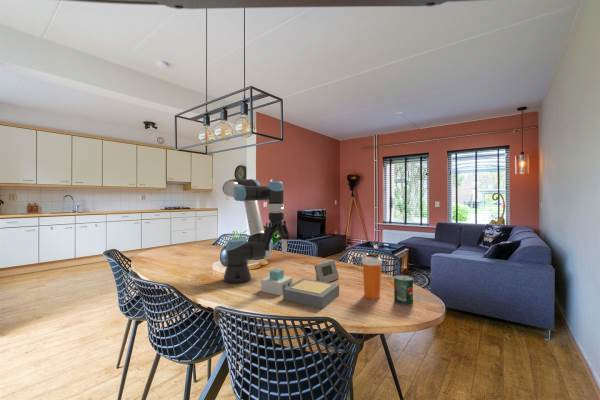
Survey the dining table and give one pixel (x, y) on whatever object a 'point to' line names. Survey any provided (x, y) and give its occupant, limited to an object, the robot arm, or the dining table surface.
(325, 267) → the digital clock
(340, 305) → the dining table surface
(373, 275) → the shaker bottle
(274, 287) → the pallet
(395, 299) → the canned tomato
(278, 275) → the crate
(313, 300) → the dock
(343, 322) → the dining table surface
